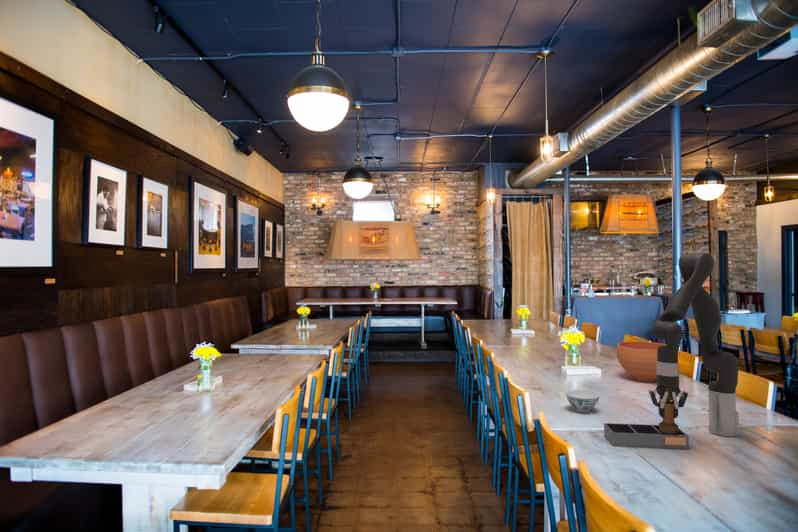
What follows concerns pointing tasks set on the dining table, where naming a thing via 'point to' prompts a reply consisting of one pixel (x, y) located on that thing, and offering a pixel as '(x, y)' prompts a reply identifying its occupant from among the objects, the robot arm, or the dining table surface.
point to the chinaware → (582, 399)
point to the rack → (644, 436)
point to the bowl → (639, 359)
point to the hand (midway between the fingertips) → (668, 417)
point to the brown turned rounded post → (668, 417)
